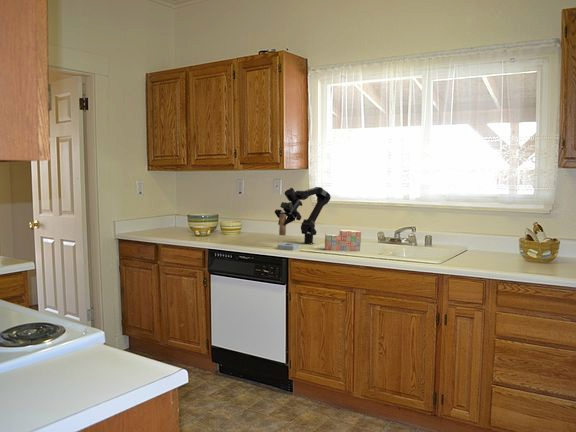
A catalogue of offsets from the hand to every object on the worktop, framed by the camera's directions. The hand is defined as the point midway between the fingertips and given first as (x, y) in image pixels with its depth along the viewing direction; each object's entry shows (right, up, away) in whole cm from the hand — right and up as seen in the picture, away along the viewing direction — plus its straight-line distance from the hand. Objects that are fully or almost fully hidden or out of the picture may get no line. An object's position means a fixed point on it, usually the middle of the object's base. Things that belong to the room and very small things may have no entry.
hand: (281, 224), depth 322 cm
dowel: (+1, -6, +2) cm, 7 cm away
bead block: (+4, -15, -5) cm, 16 cm away
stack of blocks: (+38, -16, 0) cm, 41 cm away
